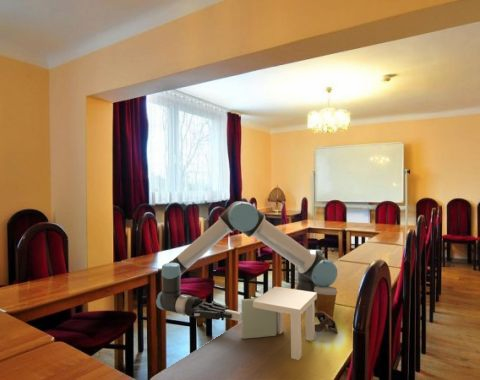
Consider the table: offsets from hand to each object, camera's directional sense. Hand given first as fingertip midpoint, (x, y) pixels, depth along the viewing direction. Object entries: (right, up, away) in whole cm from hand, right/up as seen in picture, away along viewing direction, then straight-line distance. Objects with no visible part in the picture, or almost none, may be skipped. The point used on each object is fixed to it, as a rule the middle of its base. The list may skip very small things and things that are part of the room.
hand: (240, 316), depth 118 cm
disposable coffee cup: (+34, -6, +14) cm, 38 cm away
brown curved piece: (+31, -6, +2) cm, 31 cm away
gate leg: (+7, -6, -2) cm, 10 cm away
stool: (+16, -6, -7) cm, 18 cm away
